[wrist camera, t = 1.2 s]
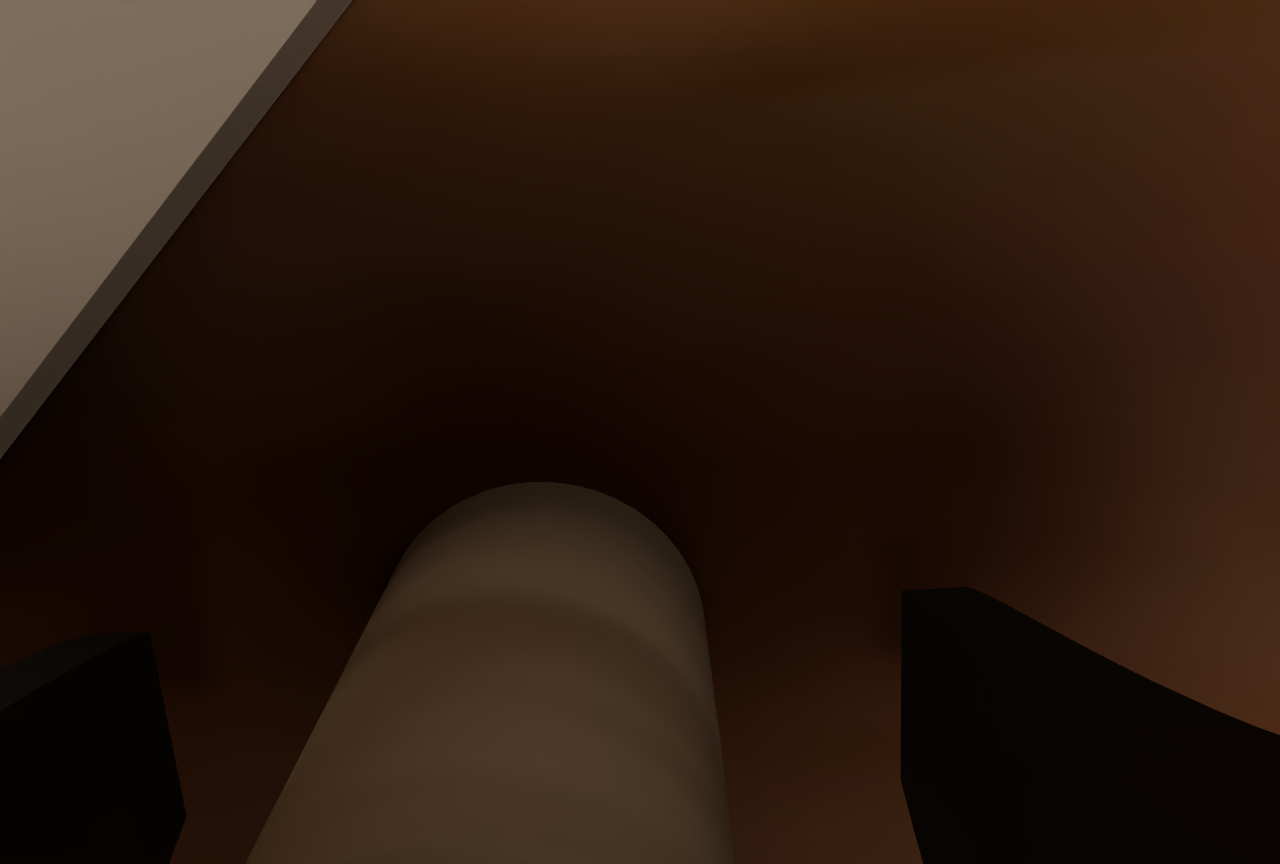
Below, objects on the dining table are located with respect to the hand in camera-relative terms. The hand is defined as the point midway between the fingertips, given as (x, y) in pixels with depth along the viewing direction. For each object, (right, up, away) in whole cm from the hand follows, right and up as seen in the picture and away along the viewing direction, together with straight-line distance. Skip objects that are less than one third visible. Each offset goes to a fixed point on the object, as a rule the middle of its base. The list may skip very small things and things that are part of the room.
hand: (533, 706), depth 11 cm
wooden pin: (0, 0, +2) cm, 2 cm away
